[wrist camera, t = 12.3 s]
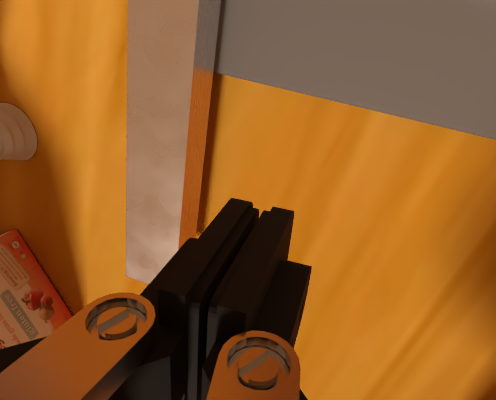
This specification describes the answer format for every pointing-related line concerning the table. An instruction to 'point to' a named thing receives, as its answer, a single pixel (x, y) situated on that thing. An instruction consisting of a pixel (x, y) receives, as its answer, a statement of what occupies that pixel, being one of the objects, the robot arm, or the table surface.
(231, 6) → the label board
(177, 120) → the swing bar
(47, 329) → the cracker box
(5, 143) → the chalice
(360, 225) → the table surface
